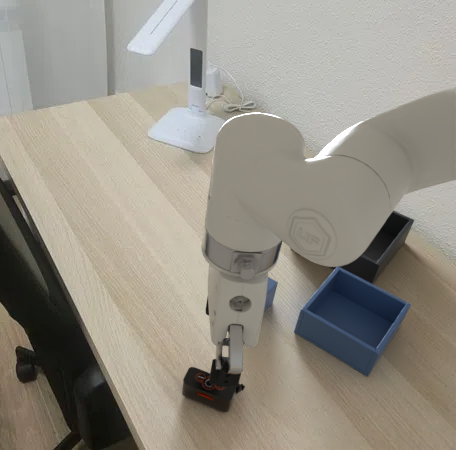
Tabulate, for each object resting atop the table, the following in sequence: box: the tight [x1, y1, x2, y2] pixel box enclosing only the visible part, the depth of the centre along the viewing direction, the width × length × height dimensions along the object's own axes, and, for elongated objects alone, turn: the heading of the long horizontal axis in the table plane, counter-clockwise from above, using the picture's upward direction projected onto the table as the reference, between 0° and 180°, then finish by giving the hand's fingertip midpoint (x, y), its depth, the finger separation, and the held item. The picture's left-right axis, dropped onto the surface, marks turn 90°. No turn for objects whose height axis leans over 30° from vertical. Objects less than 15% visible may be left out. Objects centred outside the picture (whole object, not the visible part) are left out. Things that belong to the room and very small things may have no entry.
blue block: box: [264, 276, 279, 313], centre depth 81 cm, size 4×4×4 cm
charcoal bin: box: [329, 210, 415, 285], centre depth 91 cm, size 14×14×5 cm
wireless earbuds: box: [181, 366, 246, 414], centre depth 70 cm, size 5×7×3 cm, turn 66°
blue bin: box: [293, 267, 412, 377], centre depth 78 cm, size 11×11×5 cm
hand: (220, 346), depth 64 cm, fingers open, 9 cm apart
